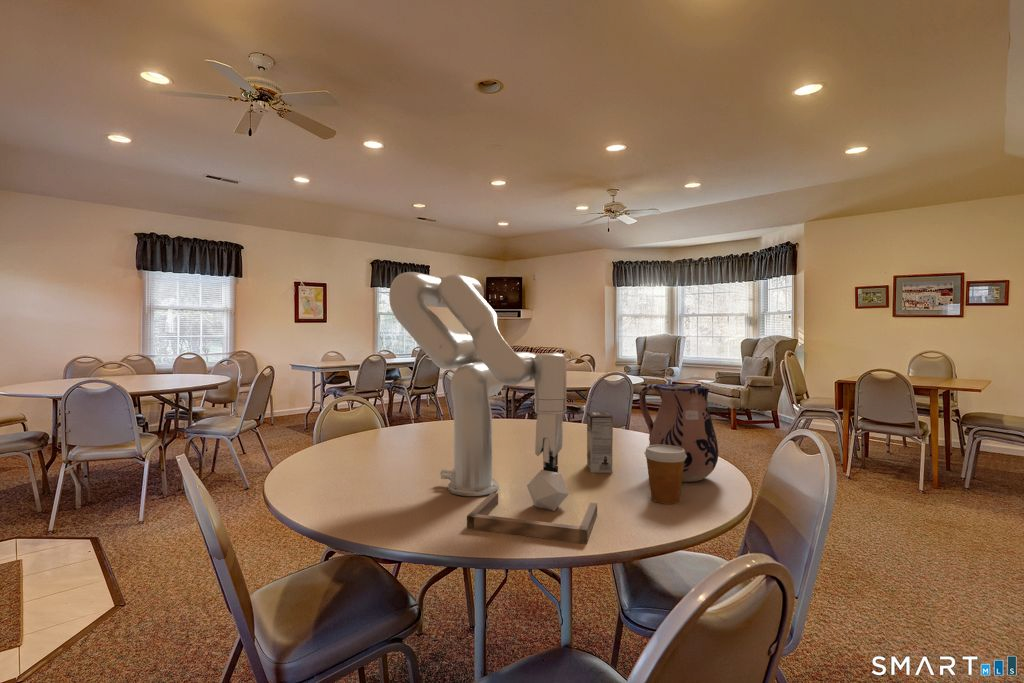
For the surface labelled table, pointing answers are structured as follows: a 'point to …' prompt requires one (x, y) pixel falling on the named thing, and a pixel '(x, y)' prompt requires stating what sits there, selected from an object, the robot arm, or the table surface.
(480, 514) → the wooden u-shaped frame
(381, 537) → the table surface
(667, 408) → the ceramic pitcher
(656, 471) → the disposable coffee cup
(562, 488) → the die
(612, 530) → the table surface
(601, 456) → the coffee box
